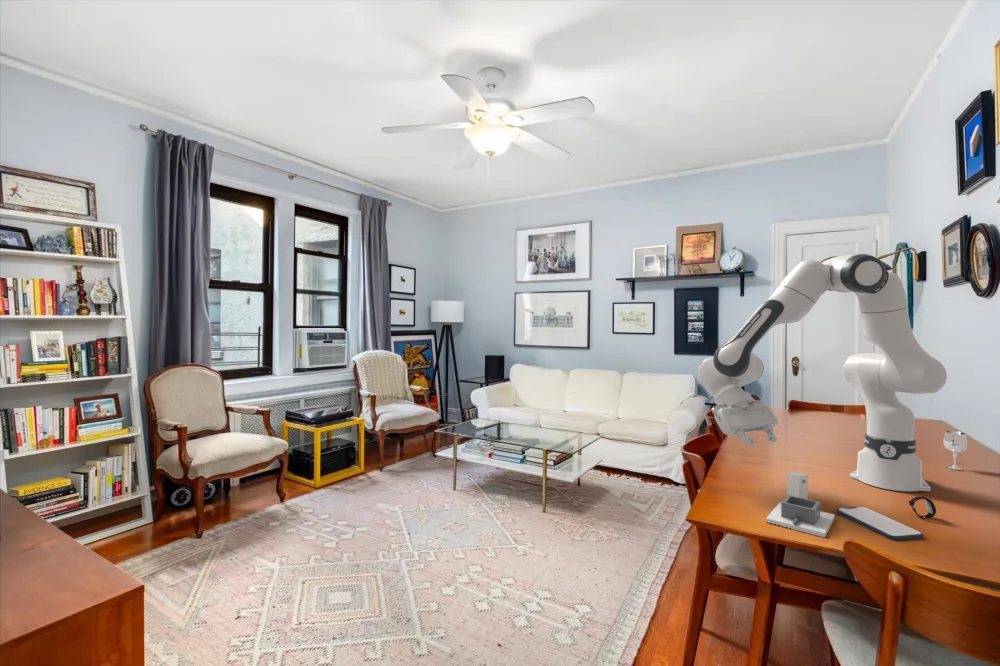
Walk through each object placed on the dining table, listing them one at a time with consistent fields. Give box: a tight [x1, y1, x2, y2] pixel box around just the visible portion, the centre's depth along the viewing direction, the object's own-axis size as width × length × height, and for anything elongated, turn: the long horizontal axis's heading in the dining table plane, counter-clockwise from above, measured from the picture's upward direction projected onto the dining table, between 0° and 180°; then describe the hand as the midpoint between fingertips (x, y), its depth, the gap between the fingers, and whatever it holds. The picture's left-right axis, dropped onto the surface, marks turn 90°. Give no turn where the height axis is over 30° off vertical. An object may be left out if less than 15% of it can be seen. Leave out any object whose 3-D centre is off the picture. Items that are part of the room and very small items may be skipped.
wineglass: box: [942, 430, 968, 469], centre depth 158 cm, size 6×6×12 cm
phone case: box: [835, 506, 924, 542], centre depth 115 cm, size 9×2×16 cm
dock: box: [765, 494, 836, 538], centre depth 118 cm, size 14×12×4 cm
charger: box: [786, 470, 809, 499], centre depth 129 cm, size 3×4×8 cm
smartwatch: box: [908, 496, 937, 519], centre depth 120 cm, size 4×5×5 cm
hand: (762, 443), depth 138 cm, fingers open, 8 cm apart
